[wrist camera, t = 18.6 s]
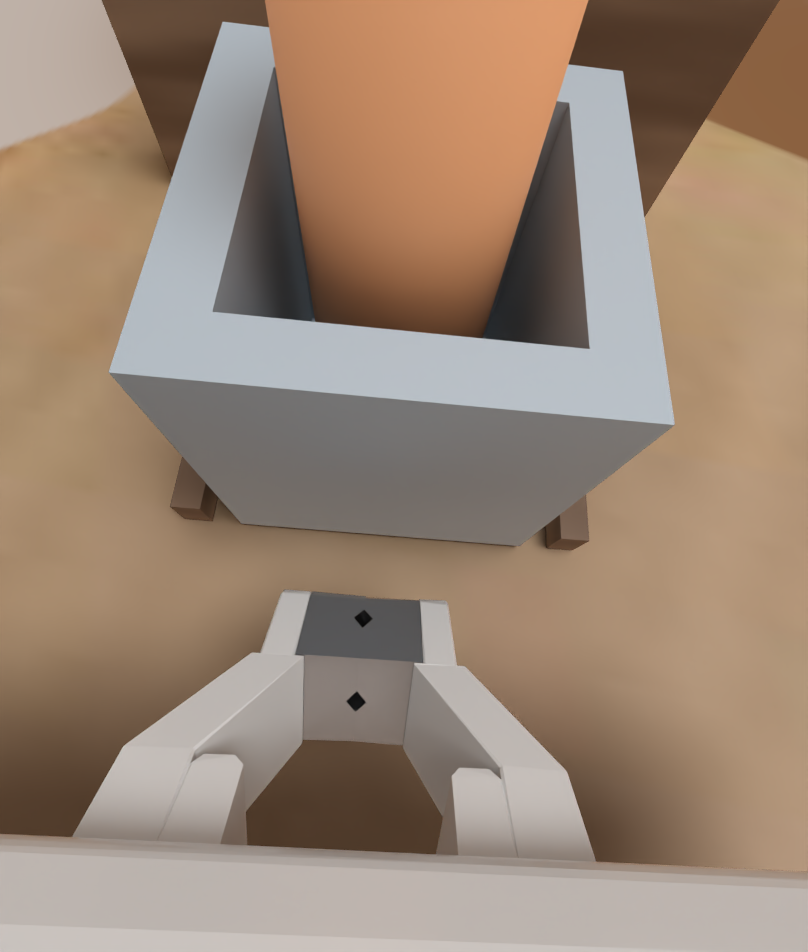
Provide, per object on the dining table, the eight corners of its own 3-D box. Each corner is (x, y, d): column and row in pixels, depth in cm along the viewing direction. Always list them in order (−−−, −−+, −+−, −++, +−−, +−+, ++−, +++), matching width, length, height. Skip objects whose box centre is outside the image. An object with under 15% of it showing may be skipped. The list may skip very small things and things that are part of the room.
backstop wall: (675, 558, 15) (1527, 262, 4) (73, 509, 14) (-933, -25, 3) (627, 200, 21) (937, -352, 9) (187, 150, 20) (-44, -515, 9)
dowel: (452, 471, 15) (1022, -1072, 2) (318, 453, 15) (-80, -1237, 2) (462, 360, 16) (804, -885, 3) (340, 343, 16) (218, -976, 3)
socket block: (519, 546, 15) (674, 425, 7) (241, 523, 14) (108, 372, 7) (514, 320, 18) (623, 70, 10) (283, 297, 17) (222, 21, 10)
